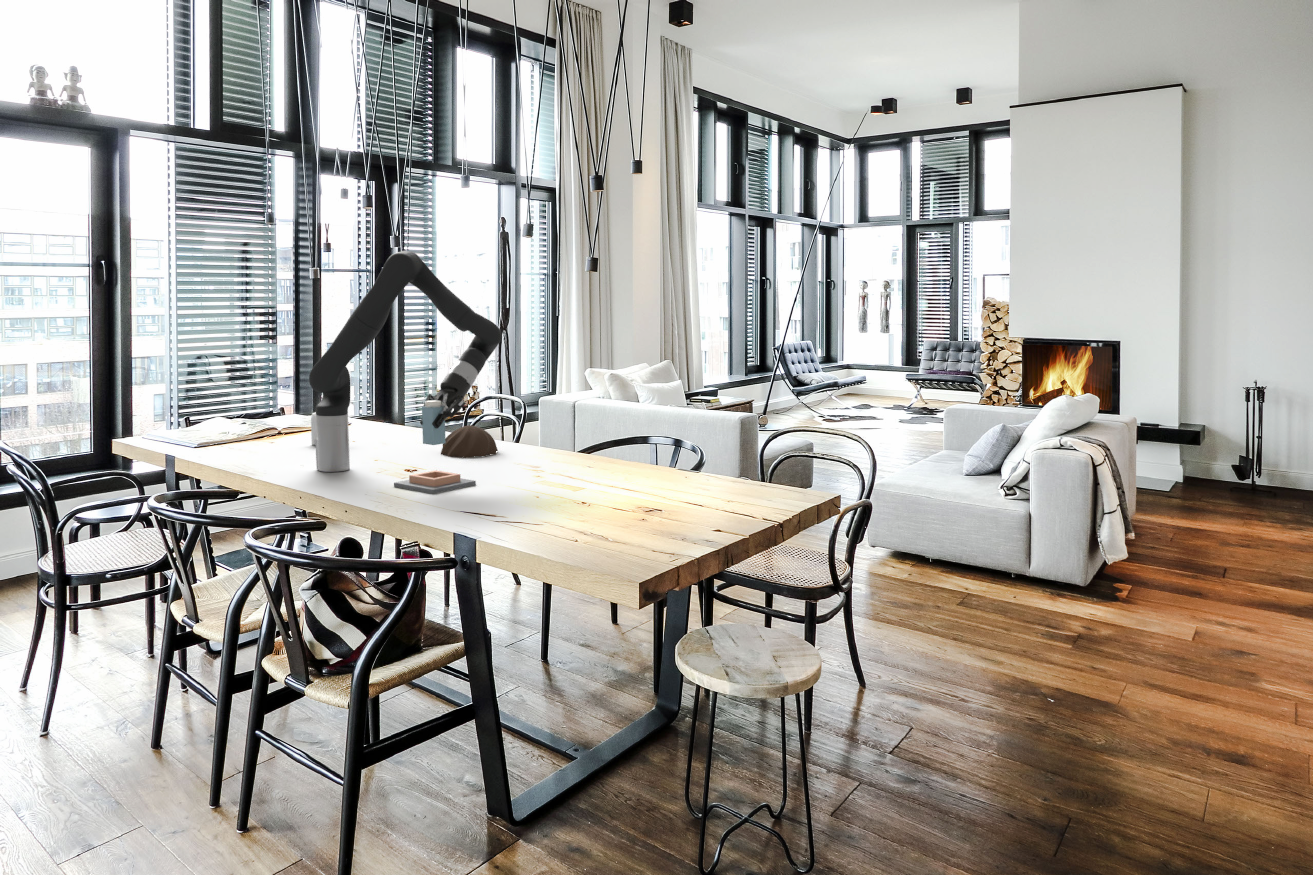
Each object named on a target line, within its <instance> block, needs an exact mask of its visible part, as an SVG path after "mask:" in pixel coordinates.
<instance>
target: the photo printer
mask: <svg viewBox="0 0 1313 875" xmlns="http://www.w3.org/2000/svg"><path fill="white" fill-rule="evenodd" d="M310 428H311V445H312V446H316V442H315V440H316V439H317V424H316V411H315V412H312V413H311V418H310Z"/></svg>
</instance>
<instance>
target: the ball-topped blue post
mask: <svg viewBox="0 0 1313 875" xmlns="http://www.w3.org/2000/svg"><path fill="white" fill-rule="evenodd" d="M424 403H425V406H424V405H423V406H424V407H423V406H421V415H422V417H421V419H422V422H423V424H422V425H421V426H422V444H423V445H428V446H429V445H430V446H437V445H438V446H439V445H443V444H444V443H446V441H445V439H446V419H445V420H444V421H443V423H442V424H441V426H440V427H439V428H435V427H434V426H433V425H432V423H433V421H434V420H435V418H436V417H437V416H438V414H440V411H441V409H442V407H441V401H435V400H433V401H426V400H425V401H424Z"/></svg>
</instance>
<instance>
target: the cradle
mask: <svg viewBox="0 0 1313 875" xmlns="http://www.w3.org/2000/svg"><path fill="white" fill-rule="evenodd" d="M408 477H409V478H408V479H406V480H400V481H396V482H393V487H394V488H398V489H403V488H404V490H408V489H409V491H415V492H420V493H427V494H430V495H435V494H439V493H444V492H449V491H454V490H459V489H463V488H467V487H472V486H476V484H477V483H476V480H474V479H473V480H472V479H466V478H461V474H460V473H453V472H448V471H442V470H437V469H436V470H431V471H425V472H420V473H415V474H410V475H408Z"/></svg>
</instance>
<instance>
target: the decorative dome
mask: <svg viewBox="0 0 1313 875" xmlns="http://www.w3.org/2000/svg"><path fill="white" fill-rule="evenodd" d="M445 441H446V443H444V444H442V448H441V450H440V455H442V454H443V456H446V457H448V458H449V457H450V458H462V457H463V459H464V458H465V459H466V457H468V458H475V457H474V456H485V457H487V456H486V455H489V456H491V455H490V454H497V453H496V451H498V452H499V450H498V447H497V444H496V441H495V439H494V438H493V436H492V435H491V434H490V433H489V432H488V431H487V430H485V429H483V428H482V427H478V426H475V425H470V424H469V425H465V426H461V427H458V428H457V429H456V430H454V431H452V432H451V433H450V434H448V435H447V436H445Z"/></svg>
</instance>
